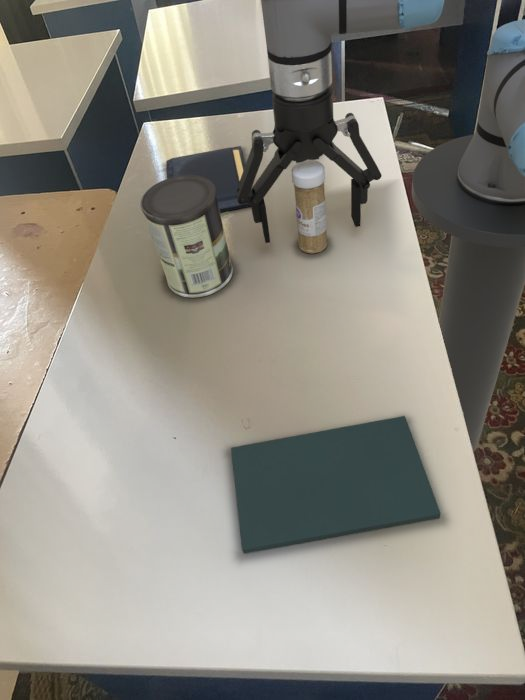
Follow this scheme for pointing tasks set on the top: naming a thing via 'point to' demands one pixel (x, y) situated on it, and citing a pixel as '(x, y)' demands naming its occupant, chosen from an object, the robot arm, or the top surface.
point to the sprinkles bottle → (310, 205)
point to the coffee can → (188, 234)
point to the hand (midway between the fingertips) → (311, 229)
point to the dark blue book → (214, 172)
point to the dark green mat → (330, 484)
